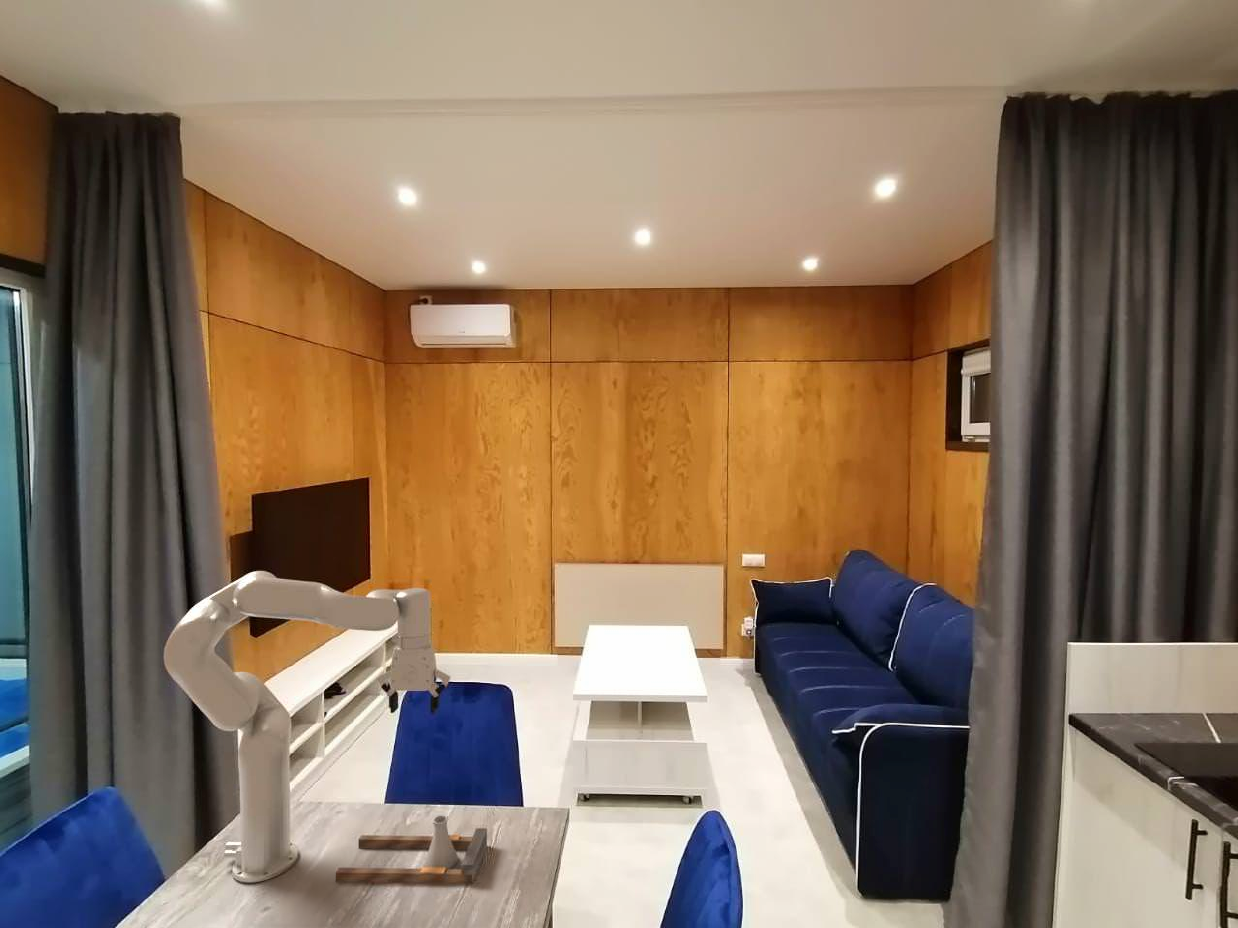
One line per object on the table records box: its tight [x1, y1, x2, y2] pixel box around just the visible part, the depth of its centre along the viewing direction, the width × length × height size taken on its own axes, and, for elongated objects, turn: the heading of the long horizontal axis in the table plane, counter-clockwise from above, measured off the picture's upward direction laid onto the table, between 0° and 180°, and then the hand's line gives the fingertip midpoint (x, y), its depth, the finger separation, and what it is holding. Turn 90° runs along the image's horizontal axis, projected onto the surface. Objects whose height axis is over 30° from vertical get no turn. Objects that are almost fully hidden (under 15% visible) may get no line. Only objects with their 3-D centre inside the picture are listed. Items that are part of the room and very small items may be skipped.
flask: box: [423, 814, 458, 869], centre depth 135 cm, size 7×7×10 cm
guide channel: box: [335, 827, 488, 885], centre depth 135 cm, size 29×13×4 cm, turn 89°
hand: (414, 710), depth 148 cm, fingers open, 9 cm apart
